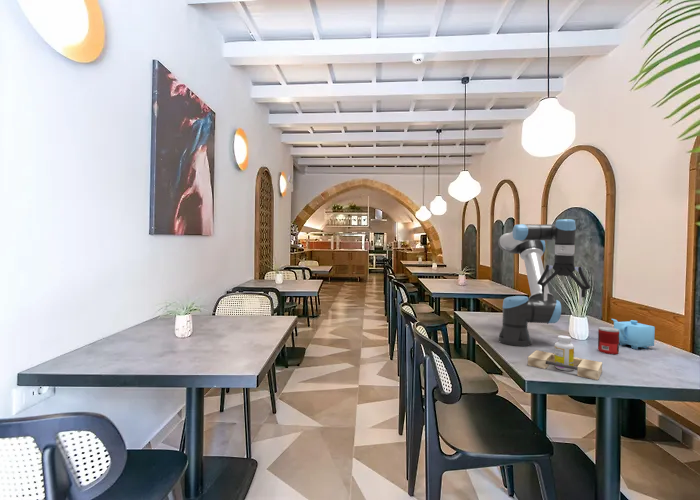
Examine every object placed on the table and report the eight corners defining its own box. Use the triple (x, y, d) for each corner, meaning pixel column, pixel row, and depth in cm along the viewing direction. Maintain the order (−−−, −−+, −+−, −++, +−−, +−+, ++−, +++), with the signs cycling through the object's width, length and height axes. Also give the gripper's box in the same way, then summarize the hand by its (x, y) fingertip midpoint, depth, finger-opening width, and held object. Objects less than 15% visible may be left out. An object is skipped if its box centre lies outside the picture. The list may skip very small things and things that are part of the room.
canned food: (622, 355, 165) (622, 331, 165) (602, 353, 167) (603, 330, 167) (613, 350, 173) (614, 327, 173) (594, 349, 174) (595, 326, 174)
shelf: (527, 365, 149) (527, 356, 149) (535, 358, 159) (536, 350, 159) (597, 380, 134) (598, 370, 134) (602, 371, 143) (602, 362, 143)
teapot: (658, 348, 177) (658, 322, 176) (633, 350, 173) (634, 323, 173) (622, 339, 194) (622, 315, 194) (599, 340, 190) (599, 316, 190)
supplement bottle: (571, 366, 148) (572, 335, 148) (575, 372, 142) (576, 339, 142) (552, 364, 150) (553, 334, 150) (556, 370, 144) (556, 337, 144)
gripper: (531, 253, 164) (529, 299, 165) (596, 256, 148) (594, 307, 149) (535, 253, 170) (534, 297, 171) (599, 255, 153) (597, 305, 154)
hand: (562, 302), depth 160 cm, fingers open, 13 cm apart
